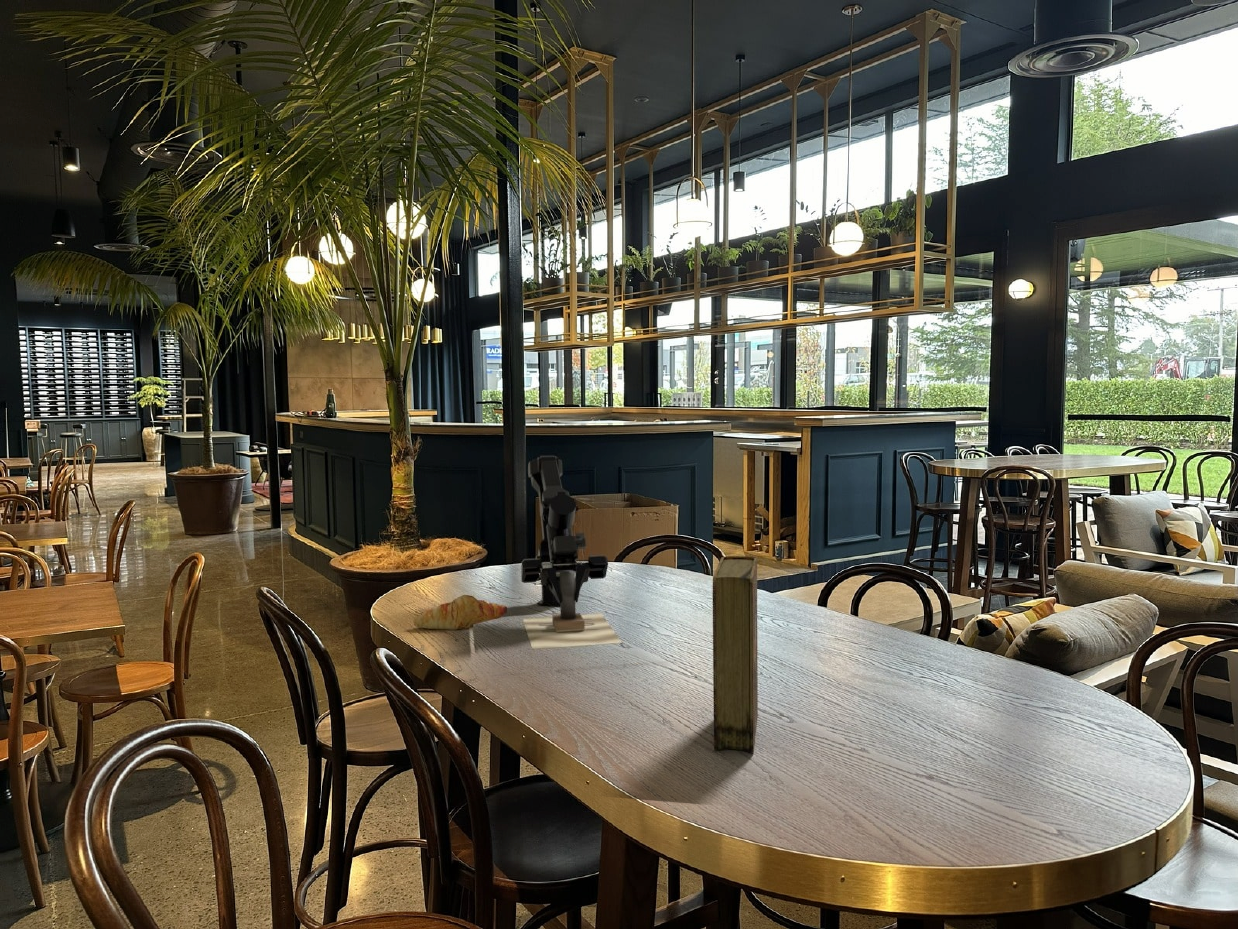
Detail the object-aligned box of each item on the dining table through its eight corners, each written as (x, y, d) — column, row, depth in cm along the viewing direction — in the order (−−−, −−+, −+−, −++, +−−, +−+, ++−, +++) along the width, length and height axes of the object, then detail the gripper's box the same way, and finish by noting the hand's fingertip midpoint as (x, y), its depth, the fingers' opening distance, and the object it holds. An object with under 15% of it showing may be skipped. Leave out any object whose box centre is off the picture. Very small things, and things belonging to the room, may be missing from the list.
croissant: (416, 648, 182) (417, 621, 178) (408, 618, 190) (409, 590, 186) (511, 634, 191) (514, 607, 187) (499, 605, 198) (502, 579, 194)
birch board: (522, 623, 189) (522, 618, 189) (601, 617, 192) (601, 613, 192) (532, 654, 165) (532, 649, 165) (622, 647, 169) (622, 642, 169)
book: (723, 711, 133) (721, 555, 132) (758, 713, 132) (757, 556, 130) (713, 753, 117) (712, 577, 116) (753, 756, 116) (752, 578, 114)
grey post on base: (552, 623, 183) (551, 569, 182) (579, 622, 184) (578, 567, 184) (556, 632, 176) (555, 575, 176) (584, 630, 178) (583, 574, 177)
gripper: (520, 522, 181) (526, 583, 171) (605, 518, 184) (616, 578, 174) (518, 552, 189) (524, 612, 179) (600, 548, 193) (609, 606, 183)
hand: (568, 602), depth 179 cm, fingers closed on grey post on base, 3 cm apart
